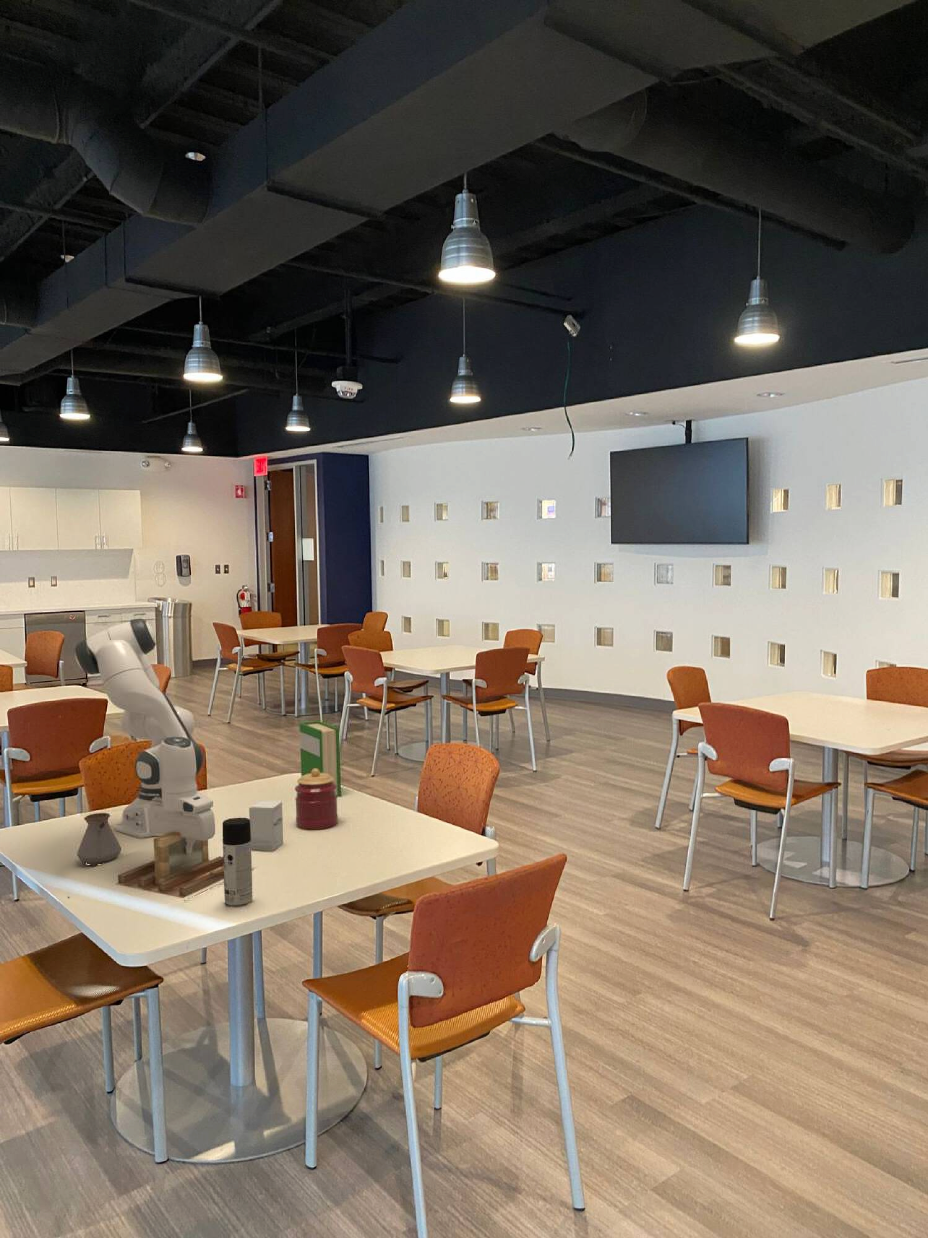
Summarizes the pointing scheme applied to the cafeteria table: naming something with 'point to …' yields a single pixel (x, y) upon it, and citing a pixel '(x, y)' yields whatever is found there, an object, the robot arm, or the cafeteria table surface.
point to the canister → (316, 801)
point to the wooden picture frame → (176, 855)
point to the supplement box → (266, 825)
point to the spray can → (237, 861)
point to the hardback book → (320, 750)
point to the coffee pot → (98, 841)
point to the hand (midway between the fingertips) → (182, 852)
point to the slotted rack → (174, 878)
